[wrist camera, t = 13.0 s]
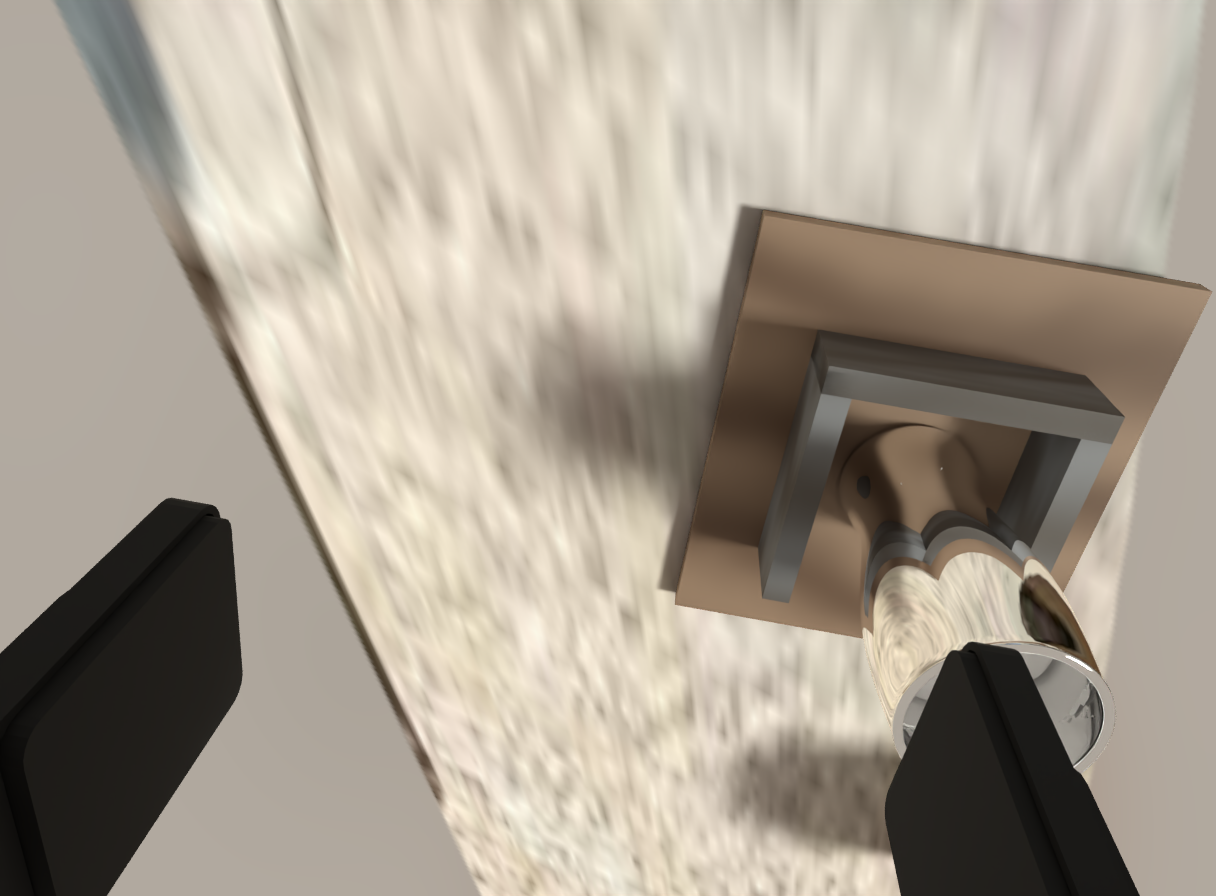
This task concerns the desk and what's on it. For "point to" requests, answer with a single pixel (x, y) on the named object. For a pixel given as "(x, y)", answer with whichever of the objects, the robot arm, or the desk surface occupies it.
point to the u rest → (917, 401)
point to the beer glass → (959, 588)
